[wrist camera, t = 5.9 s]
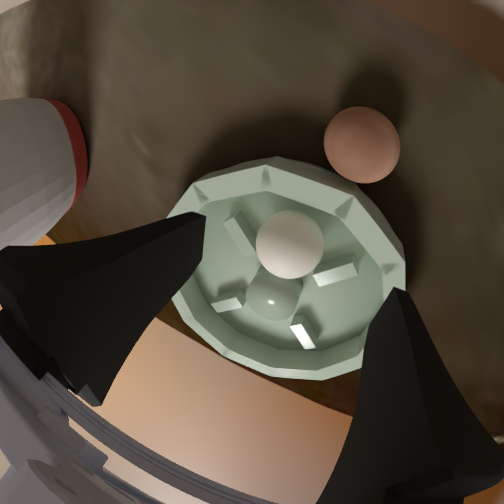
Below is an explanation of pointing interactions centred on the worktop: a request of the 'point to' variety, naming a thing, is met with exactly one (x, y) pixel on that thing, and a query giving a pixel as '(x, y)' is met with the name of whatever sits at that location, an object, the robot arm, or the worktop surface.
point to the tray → (318, 302)
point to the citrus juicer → (38, 167)
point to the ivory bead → (289, 244)
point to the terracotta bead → (362, 144)
